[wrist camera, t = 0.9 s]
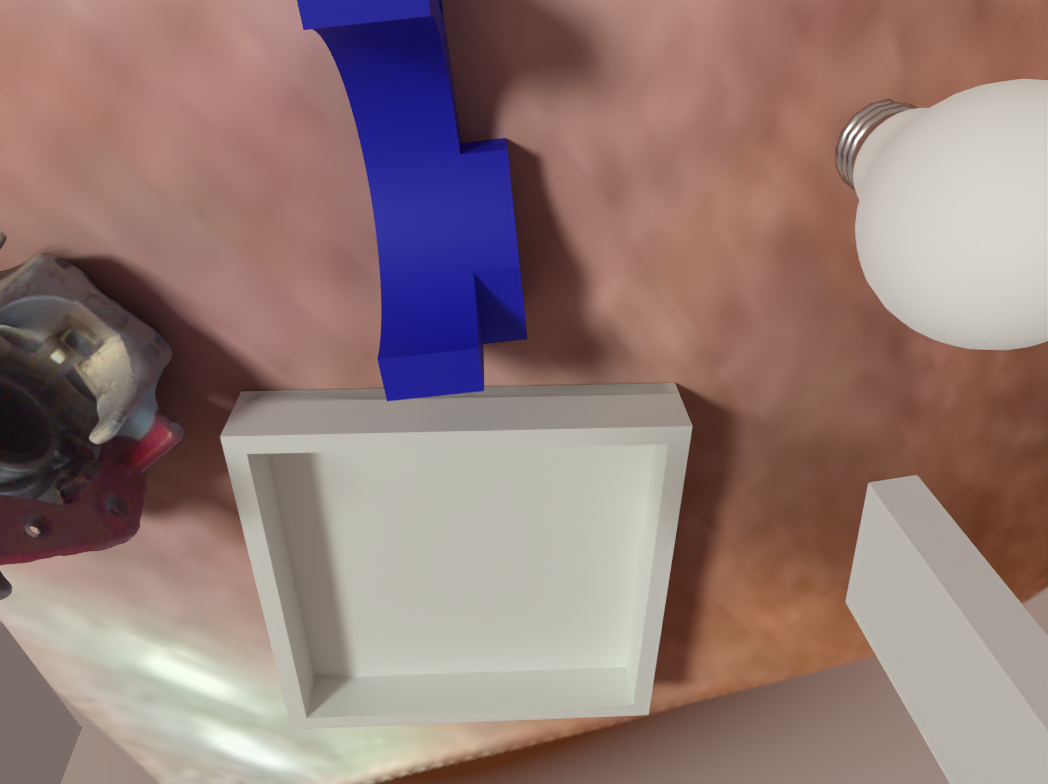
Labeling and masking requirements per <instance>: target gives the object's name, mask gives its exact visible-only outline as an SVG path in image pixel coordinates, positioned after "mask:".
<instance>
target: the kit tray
mask: <svg viewBox="0 0 1048 784" xmlns="http://www.w3.org/2000/svg"><path fill="white" fill-rule="evenodd" d="M692 427H693V426H692V423H691V421H690V419H689V416H688V414H687V411H686V409H685V406H684V404H683V401H682V399H681V396H680V394H679V392H678V389H677V387H676V384H675V383H647V384H595V385H544V386H492V387H484V391H480V392H471V393H461V394H452V395H442V396H433V397H424V398H414V399H405V400H395V401H387V399H386V394H385V390H384V389H338V390H286V391H241V393H240V395H239V397H238V399H237V402H236V404H235V406H234V408H233V410H232V412H231V414H230V416H229V418H228V421H227V423H226V425H225V427H224V429H223V431H222V433H221V435H220V439H221V443H222V447H223V451H224V455H225V459H226V463H227V467H228V471H229V476H230V480H231V484H232V488H233V492H234V496H235V500H236V504H237V508H238V512H239V516H240V520H241V524H242V529H243V533H244V537H245V541H246V545H247V549H248V553H249V557H250V561H251V565H252V569H253V573H254V577H255V582H256V586H257V590H258V594H259V598H260V602H261V606H262V610H263V614H264V618H265V622H266V626H267V630H268V634H269V639H270V643H271V647H272V651H273V655H274V659H275V663H276V667H277V671H278V675H279V679H280V683H281V687H282V692H283V696H284V700H285V704H286V708H287V712H288V716H289V720H290V724H291V728H292V729H311V728H335V727H360V726H385V725H410V724H435V723H460V722H484V721H509V720H534V719H559V718H584V717H609V716H634V715H649V708H650V701H651V695H652V688H653V682H654V675H655V669H656V662H657V656H658V649H659V643H660V636H661V629H662V623H663V616H664V610H665V603H666V597H667V590H668V584H669V577H670V571H671V564H672V558H673V551H674V544H675V538H676V531H677V525H678V518H679V512H680V505H681V499H682V492H683V486H684V479H685V472H686V466H687V459H688V453H689V446H690V440H691V433H692Z"/></svg>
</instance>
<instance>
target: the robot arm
mask: <svg viewBox="0 0 1048 784" xmlns="http://www.w3.org/2000/svg"><path fill="white" fill-rule="evenodd" d="M846 604H847V606H848V608H849V609H850V611H851V613H852V614H853V616H854V618H855V620H856V621H857V623H858V625H859V627H860V628H861V630H862V632H863V634H864V635H865V637H866V639H867V641H868V642H869V644H870V646H871V647H872V649H873V651H874V653H875V654H876V656H877V658H878V660H879V661H880V663H881V664H882V667H883V668H884V670H885V672H886V673H887V675H888V677H889V679H890V680H891V682H892V684H893V686H894V687H895V689H896V691H897V693H898V694H899V696H900V698H901V699H902V701H903V703H904V705H905V707H906V708H907V710H908V712H909V713H910V715H911V717H912V719H913V720H914V722H915V724H916V726H917V727H918V729H919V731H920V733H921V734H922V736H923V738H924V739H925V741H926V743H927V745H928V746H929V748H930V750H931V752H932V753H933V755H934V757H935V758H936V760H937V762H938V764H939V766H940V767H941V769H942V771H943V772H944V774H945V776H946V778H947V779H948V781H949V783H950V784H1048V636H1047V634H1046V633H1045V632H1044V631H1043V630H1042V628H1041V627H1040V626H1039V625H1038V623H1037V622H1036V621H1035V620H1034V618H1033V617H1032V616H1031V615H1030V614H1029V612H1028V611H1027V610H1026V609H1025V607H1024V606H1023V605H1022V604H1021V602H1020V601H1019V600H1018V599H1017V597H1016V596H1015V595H1014V594H1013V593H1012V591H1011V590H1010V589H1009V588H1008V586H1007V585H1006V584H1005V583H1004V581H1003V580H1002V579H1001V578H1000V577H999V575H998V574H997V573H996V572H995V570H994V569H993V568H992V567H991V565H990V564H989V563H988V562H987V561H986V559H985V558H984V557H983V556H982V554H981V553H980V552H979V551H978V549H977V548H976V547H975V546H974V544H973V543H972V542H971V541H970V540H969V538H968V537H967V536H966V535H965V533H964V532H963V531H962V530H961V528H960V527H959V526H958V525H957V524H956V522H955V521H954V520H953V519H952V517H951V516H950V515H949V514H948V512H947V511H946V510H945V509H944V508H943V506H942V505H941V504H940V503H939V501H938V500H937V499H936V498H935V496H934V495H933V494H932V493H931V491H930V490H929V489H928V488H927V487H926V485H925V484H924V483H923V482H922V480H921V479H920V478H919V477H918V475H913V476H907V477H901V478H895V479H888V480H882V481H876V482H870V483H868V487H867V492H866V497H865V502H864V508H863V513H862V518H861V523H860V529H859V534H858V539H857V544H856V549H855V555H854V560H853V565H852V570H851V576H850V581H849V586H848V591H847V597H846ZM81 728H82V727H81V726H80V725H79V724H78V722H77V721H76V720H75V718H74V717H73V716H72V714H71V713H70V712H69V710H68V709H67V708H66V706H65V705H64V704H63V702H62V701H61V700H60V698H59V697H58V696H57V694H56V693H55V692H54V690H53V689H52V688H51V686H50V685H49V684H48V682H47V681H46V680H45V678H44V677H43V676H42V674H41V673H40V672H39V670H38V669H37V668H36V667H35V665H34V664H33V663H32V661H31V660H30V659H29V657H28V656H27V655H26V653H25V652H24V651H23V649H22V648H21V647H20V645H19V644H18V643H17V641H16V640H15V639H14V637H13V636H12V635H11V633H10V632H9V631H8V629H7V628H6V627H5V626H4V624H3V623H2V622H1V621H0V784H60V783H61V780H62V778H63V775H64V772H65V770H66V767H67V765H68V762H69V760H70V757H71V754H72V752H73V749H74V747H75V744H76V741H77V738H78V736H79V734H80V731H81Z"/></svg>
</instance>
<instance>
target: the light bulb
mask: <svg viewBox="0 0 1048 784" xmlns="http://www.w3.org/2000/svg"><path fill="white" fill-rule="evenodd" d="M835 159H836V168H837V170H838V172H839V174H840V176H841V178H842V180H843V182H845V183H846V184H847V185H848V186H850V187H851V188H853V189H854V190H855V191H856V194H857V196H858V198H859V200H860V201H859V204H858V207H857V214H856V224H855V236H856V245H857V252H858V256H859V261H860V264H861V267H862V269H863V272H864V275H865V278H866V280H867V282H868V283H869V285H870V286H871V288H872V289H873V290H874V292H875V293H876V295H877V296H878V298H879V299H880V301H881V302H882V303H883V305H884V306H885V308H886V309H888V310H889V311H890V312H891V313H892V314H893V315H895V316H896V317H897V318H898V319H899V320H900V321H902V322H903V323H905V324H906V325H907V326H909V327H910V328H912V329H913V330H915V331H917V332H919V333H921V334H923V335H925V336H927V337H929V338H931V339H934V340H937V341H940V342H943V343H946V344H949V345H953V346H957V347H962V348H966V349H983V350H1012V349H1019V348H1026V347H1030V346H1034V345H1037V344H1040V343H1044V342H1047V341H1048V80H1033V79H1017V80H1010V81H1004V82H997V83H991V84H986V85H980V86H977V87H974V88H971V89H968V90H965V91H962V92H960V93H957V94H954V95H952V96H950V97H949V98H947V99H945V100H943V101H941V102H939V103H937V104H936V105H934V106H932V107H930V108H918V107H915V106H914V105H912V104H907V103H901V102H895V101H893V100H891V99H886V100H882V101H878V102H874V103H870V104H869V105H868V106H866V107H865V108H863V109H862V110H860V111H859V112H857V113H856V114H854V115H853V117H852V118H851V119H850V121H849V122H848V123H847V124H846V126H845V127H844V128H843V130H842V131H841V134H840V137H839V140H838V142H837V145H836V148H835Z"/></svg>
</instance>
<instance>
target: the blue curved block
mask: <svg viewBox="0 0 1048 784" xmlns="http://www.w3.org/2000/svg"><path fill="white" fill-rule="evenodd" d="M297 2H298V7H299V11H300V16H301V20H302V25H303V29H304V30H307V29H313V30H315V31H316V32H317V33H318V34H319V35H320V36H321V37H322V39H323V40H324V42H325V43H326V45H327V46H328V48H329V50H330V52H331V54H332V56H333V58H334V60H335V62H336V65H337V67H338V70H339V72H340V75H341V78H342V80H343V83H344V86H345V89H346V92H347V95H348V98H349V101H350V105H351V108H352V112H353V115H354V119H355V123H356V126H357V130H358V135H359V139H360V143H361V147H362V152H363V156H364V161H365V166H366V171H367V176H368V182H369V187H370V193H371V199H372V205H373V212H374V219H375V227H376V234H377V244H378V253H379V264H380V278H381V305H382V318H381V339H380V348H379V355H378V363H379V368H380V372H381V377H382V381H383V385H384V390H385V394H386V399H387V401H395V400H405V399H414V398H424V397H433V396H442V395H452V394H461V393H471V392H480V391H484V352H483V344H487V343H496V342H506V341H515V340H524V339H527V331H526V322H525V312H524V302H523V292H522V283H521V273H520V263H519V254H518V245H517V235H516V226H515V217H514V207H513V197H512V188H511V178H510V169H509V159H508V149H507V141H506V138H503V139H494V140H485V141H475V142H466V143H461V141H460V134H459V126H458V119H457V111H456V104H455V96H454V89H453V82H452V74H451V67H450V59H449V52H448V45H447V37H446V30H445V22H444V15H443V7H442V0H297Z"/></svg>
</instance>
